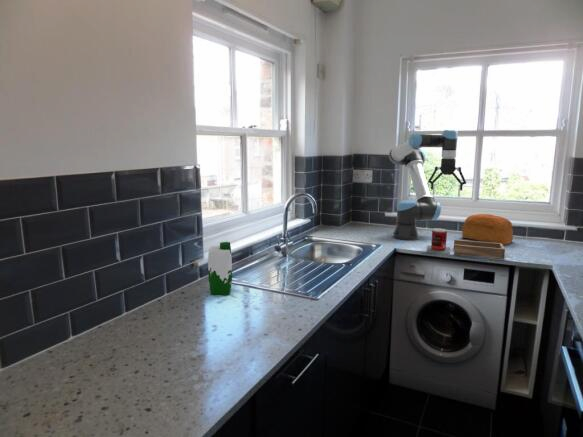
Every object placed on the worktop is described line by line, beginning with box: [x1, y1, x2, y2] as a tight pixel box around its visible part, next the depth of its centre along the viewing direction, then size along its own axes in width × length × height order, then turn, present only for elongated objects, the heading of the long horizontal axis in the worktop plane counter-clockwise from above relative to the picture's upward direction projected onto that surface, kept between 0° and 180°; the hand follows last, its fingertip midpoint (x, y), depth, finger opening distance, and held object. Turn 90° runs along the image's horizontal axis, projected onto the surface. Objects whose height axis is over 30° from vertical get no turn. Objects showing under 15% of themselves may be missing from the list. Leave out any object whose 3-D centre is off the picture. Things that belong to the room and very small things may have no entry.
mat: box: [426, 244, 451, 255], centre depth 228 cm, size 14×12×1 cm
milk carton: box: [207, 241, 233, 296], centre depth 161 cm, size 9×9×20 cm
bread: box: [461, 213, 514, 246], centre depth 251 cm, size 16×27×16 cm, turn 41°
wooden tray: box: [453, 239, 506, 259], centre depth 221 cm, size 13×24×5 cm, turn 69°
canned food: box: [430, 227, 448, 251], centre depth 227 cm, size 8×8×11 cm
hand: (445, 195), depth 235 cm, fingers open, 13 cm apart
